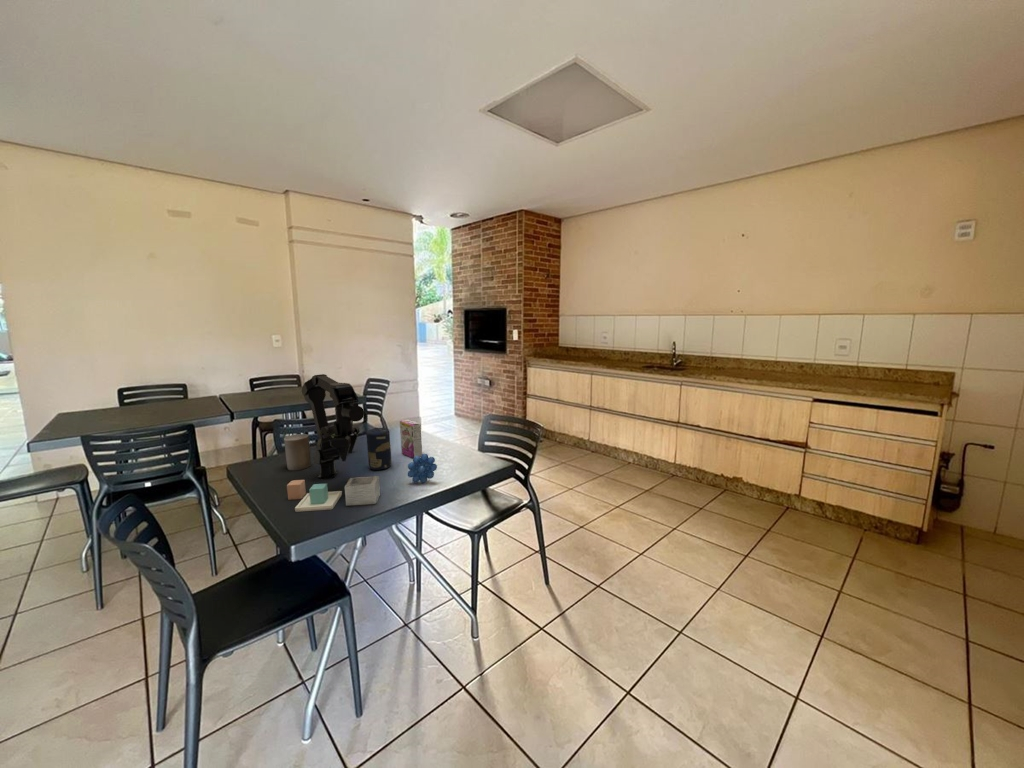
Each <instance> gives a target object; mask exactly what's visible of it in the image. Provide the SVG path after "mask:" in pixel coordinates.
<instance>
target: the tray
mask: <svg viewBox="0 0 1024 768" xmlns="http://www.w3.org/2000/svg"><path fill="white" fill-rule="evenodd" d="M342 495H343V491H342V490H336V491H334V490H333V491H328V499H327V501H326V502H325V503H324V504H311V502H310V492H306V494H305V495H304V496H303V498H302V499H300V501H299V503H297V505H296V506H295V507H294V512H295V513H299V512H300V513H301V512H314V511H327V510H333V509H334V507H335V506H336V505H337V503H338V502H339V500H340V499H341V497H342Z"/></svg>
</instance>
